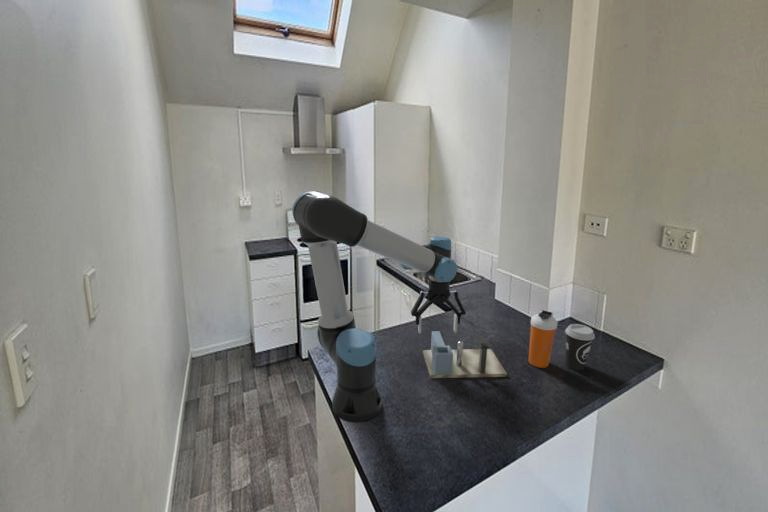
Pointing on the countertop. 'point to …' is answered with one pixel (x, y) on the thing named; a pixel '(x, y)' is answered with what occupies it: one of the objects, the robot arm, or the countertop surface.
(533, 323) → the shaker bottle
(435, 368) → the link
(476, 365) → the board
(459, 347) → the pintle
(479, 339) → the post
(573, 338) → the coffee cup
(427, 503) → the countertop surface
